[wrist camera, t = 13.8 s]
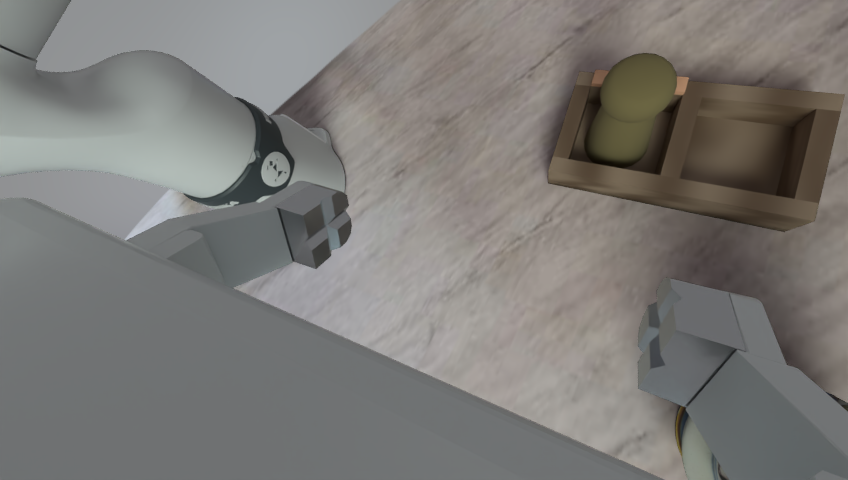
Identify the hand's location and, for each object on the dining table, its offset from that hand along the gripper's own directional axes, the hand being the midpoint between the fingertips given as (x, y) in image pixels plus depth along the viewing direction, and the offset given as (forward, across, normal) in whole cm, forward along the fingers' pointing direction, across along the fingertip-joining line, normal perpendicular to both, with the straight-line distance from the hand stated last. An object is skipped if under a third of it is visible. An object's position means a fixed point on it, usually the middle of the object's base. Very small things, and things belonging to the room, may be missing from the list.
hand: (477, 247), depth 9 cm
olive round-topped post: (+34, -4, +8) cm, 35 cm away
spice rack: (+34, -9, +8) cm, 36 cm away
